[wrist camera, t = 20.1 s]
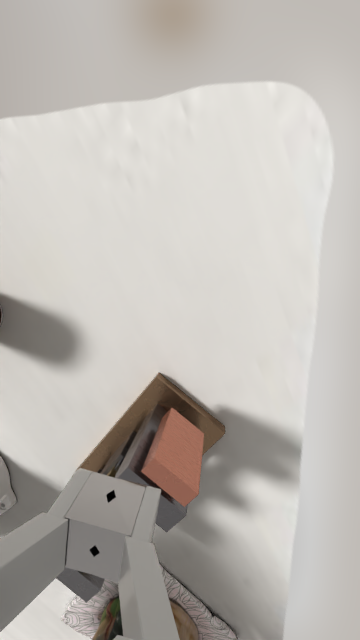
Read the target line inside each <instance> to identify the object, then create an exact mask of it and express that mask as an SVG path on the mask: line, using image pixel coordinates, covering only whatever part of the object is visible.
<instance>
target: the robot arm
mask: <svg viewBox="0 0 360 640" xmlns="http://www.w3.org/2000/svg"><path fill="white" fill-rule="evenodd" d="M160 495H161V489H158V488H154V487H150V486H147V485H143V484H139V483H135V482H131V481H127V480H123V479H117V478H114V477H110V476H107V475H103V474H100V473H97V472H93V471H89V470H86V469H82V468H79V469H78V470H77V471H76V472H75V473H74V475H73V476H72V478H71V479H70V480H69V482H68V483H67V485H66V486H65V488H64V489H63V491H62V492H61V494H60V495H59V496H58V498H57V499H56V501H55V502H54V504H53V505H52V507H51V508H50V510H49V511H48V512H47V513H44V512H42V513H40V514H39V515H37V516H36V517H34V518H32V519H31V520H29V521H28V522H26V523H24V524H23V525H21V526H20V527H18V528H16V529H15V530H13V531H12V532H10V533H8V534H7V535H5V536H4V537H2V538H0V632H1V631H2V630H3V629H4V628H5V627H6V626H7V625H8V624H9V623H10V622H11V621H12V620H13V619H14V618H15V617H16V616H17V615H18V614H19V613H20V612H21V611H22V610H23V609H24V608H25V607H26V606H28V605H29V604H30V603H31V602H32V601H33V600H34V599H35V598H36V597H37V596H38V595H39V594H40V593H41V592H42V591H43V590H44V589H45V588H46V587H47V586H48V585H49V584H50V583H51V582H52V581H53V580H54V579H55V578H56V577H57V576H58V575H59V574H60V573H61V572H62V571H63V570H64V567H66V568H70V569H73V570H77V571H81V572H85V573H89V574H92V575H95V576H98V577H101V578H104V579H107V580H110V581H113V582H115V583H118V588H119V598H120V608H121V618H122V629H123V636H120V635H117V636H116V637H115V638H114V639H113V640H180V639H179V635H178V631H177V627H176V624H175V620H174V616H173V613H172V609H171V605H170V602H169V598H168V594H167V590H166V587H165V583H164V579H163V576H162V572H161V568H160V564H159V561H158V557H157V553H156V550H155V546H154V544H153V543H151V542H152V537H153V532H154V527H155V522H156V517H157V511H158V506H159V500H160ZM15 503H16V497H15V495H14V493H13V491H12V489H11V485H10V476H9V472H8V469H7V467H6V464H5V463H4V461H3V459H2V458H1V456H0V515H1V514H3V513H4V512H6V511H7V510H8V509H10V508H11V507H12V506H13V505H14V504H15Z"/></svg>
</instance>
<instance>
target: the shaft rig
mask: <svg viewBox="0 0 360 640" xmlns="http://www.w3.org/2000/svg"><path fill="white" fill-rule="evenodd" d="M171 408H173V409H175V410H176V411H177V412H178V413H179V414H181V415H182V416H183V417H184V418H186V419H187V420H188V421H189V422H190V423H192V424H193V425H194V426H195V427H197V428H198V429H199V430H200V431H201V432H203V433H204V440H203V451H202V455H203V454H204V453H205V452H206V451H207V450H208V449H210V448H211V447H212V446H213V445H214V444H215V443H216V442H217V441H218V440H219V439H220V438H221V437H222V436H223V435H224V434H225V426H224V425H223V424H221V423H220V422H219V421H218V420H216V419H215V418H214V417H213V416H212V415H210V414H209V413H208V412H207V411H205V410H204V409H203V408H202V407H201V406H199V405H198V404H197V403H196V402H194V401H193V400H192V399H191V398H190V397H188V396H187V395H186V394H185V393H183V392H182V391H181V390H180V389H179V388H177V387H176V386H175V385H174V384H172V383H171V382H170V381H169V380H168V379H166V378H165V377H164V376H163V375H161V374H160V373H158V374H157V376H156V377H155V378H154V379H153V380H152V381H151V383H150V384H149V385H148V386H147V387H146V389H145V390H144V391H143V392H142V393H141V394H140V396H139V397H138V398H137V399H136V400H135V402H134V403H133V404H132V405H131V406H130V407H129V409H128V410H127V411H126V412H125V413H124V414H123V416H122V417H121V418H120V419H119V420H118V422H117V423H116V424H115V425H114V426H113V427H112V429H111V430H110V431H109V432H108V433H107V435H106V436H105V437H104V438H103V439H102V440H101V442H100V443H99V444H98V445H97V446H96V447H95V449H94V450H93V451H92V452H91V453H90V455H89V456H88V457H87V458H86V459H85V460H84V462H83V463H82V464H81V465H80V466H79V468H82V469H86V470H89V471H93V472H97V473H100V474H103V475H107V474H108V473H109V472H110V471H111V470H112V468H113V467H115V469H114V470H115V471H117V473H116V475H115V477H114V478H117V479H123V480H127V481H131V482H135V483H139V484H143V485H147V486H150V487H154V488H158V489H161V495H160V500H159V506H158V511H157V517H156V522H155V523H156V524H157V525H158V526H160V527H161V528H162V529H163V530H165V531H166V532H168V531H169V530H170V529H171V528H172V527H173V526H174V525H176V524H177V523H178V522H179V521H180V520H181V519H182V518H184V517H185V516H186V512H187V505H188V504H187V505H186V506H185V507H184V506H183V505H181V504H180V503H179V502H178V501H176V500H175V499H174V498H173V497H172V496H170V495H169V494H168V493H167V492H165V491H164V490H163V489H162V488H161V487H159V486H158V485H157V484H156V483H154V482H153V481H152V480H151V479H150V478H148V477H147V476H146V475H145V474H144V473H142V472H141V470H142V468H143V465H144V463H145V460H146V458H147V455H148V452H149V450H150V447H151V445H152V442H153V440H154V437H155V435H156V432H157V430H158V427H159V424H160V422H161V419H162V418H163V416H164V415H165V414H166V413H167V412H168V411H169V410H170V409H171ZM79 468H78V469H79ZM78 469H77V470H78ZM77 470H76V471H77ZM76 471H75V472H76ZM73 475H74V474H73ZM56 578H57V579H58V580H59V581H61V582H62V583H63V584H64V585H65V586H67V587H68V588H69V589H70V590H72V591H73V592H74V593H75V594H76V595H78V596H79V597H80V598H81V599H82V600H84V601H85V602H86V603H87V602H88V601H89V600H90V599H91V598H92V597H94V596H95V595H96V594H97V593H98V592H99V591H100V590H101V588H102V585H103V583H104V580H105V579H104V578H101V577H98V576H95V575H92V574H89V573H85V572H81V571H77V570H73V569H70V568H66V567H64V570H63V571H62V572H61V573H60V574H59V575H58V576H57V577H56Z"/></svg>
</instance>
